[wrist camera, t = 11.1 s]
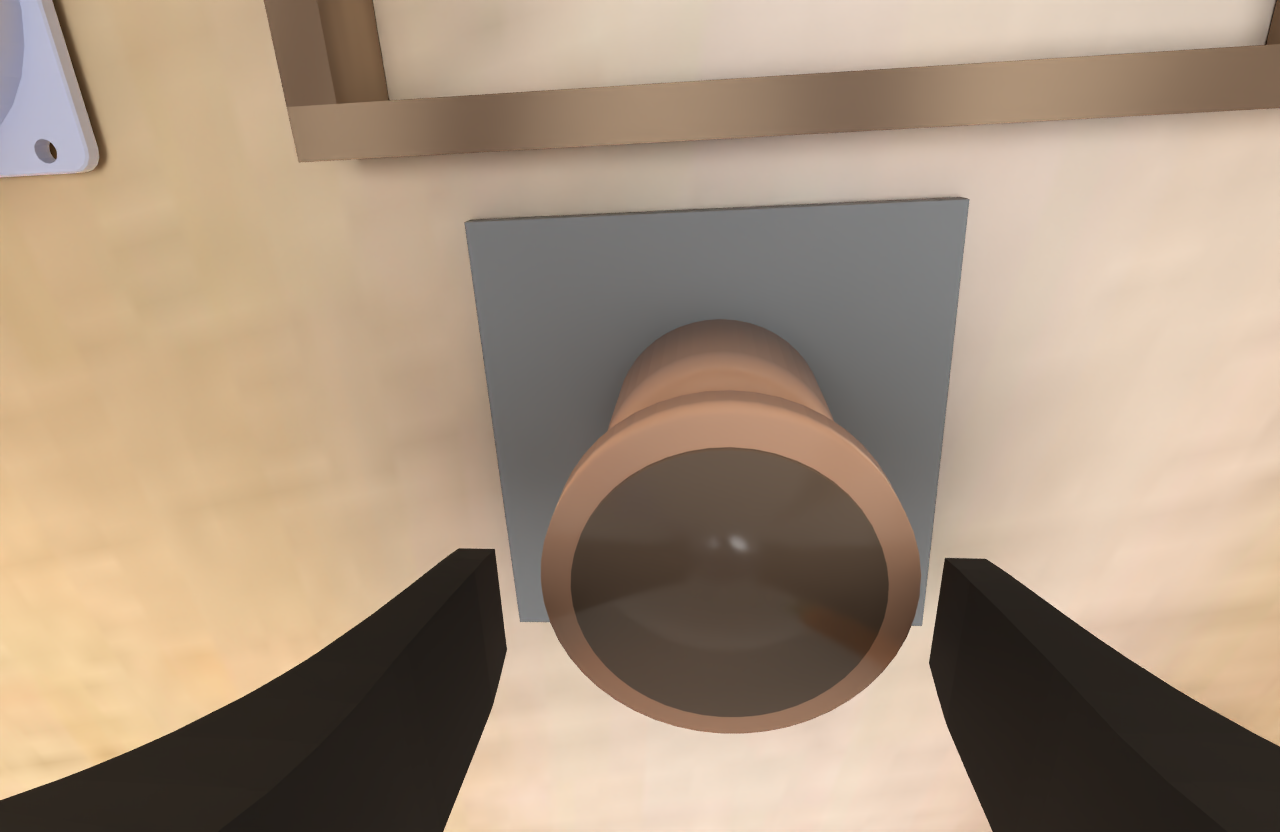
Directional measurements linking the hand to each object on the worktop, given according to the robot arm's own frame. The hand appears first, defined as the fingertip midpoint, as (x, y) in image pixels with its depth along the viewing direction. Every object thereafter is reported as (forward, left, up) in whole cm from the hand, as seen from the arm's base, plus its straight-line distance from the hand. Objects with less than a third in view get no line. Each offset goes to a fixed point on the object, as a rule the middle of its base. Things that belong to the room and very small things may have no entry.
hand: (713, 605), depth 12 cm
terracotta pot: (0, +1, -7) cm, 7 cm away
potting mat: (0, 0, -7) cm, 7 cm away
